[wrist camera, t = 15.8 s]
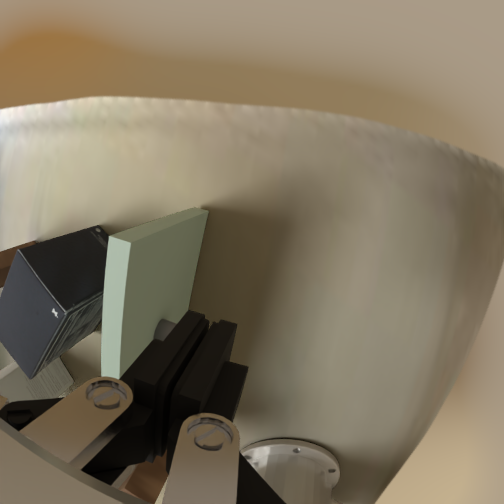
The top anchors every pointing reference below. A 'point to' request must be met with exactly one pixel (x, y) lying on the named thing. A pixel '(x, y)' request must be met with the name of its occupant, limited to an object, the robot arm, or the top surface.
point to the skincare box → (34, 382)
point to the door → (147, 285)
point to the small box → (53, 297)
